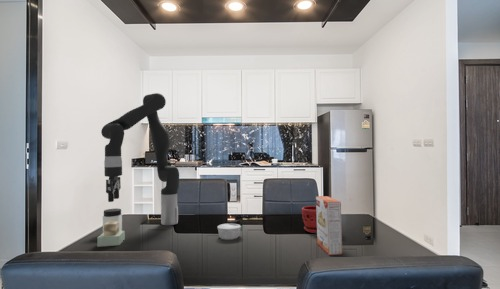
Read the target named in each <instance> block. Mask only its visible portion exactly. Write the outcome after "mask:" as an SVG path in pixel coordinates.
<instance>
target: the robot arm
mask: <svg viewBox="0 0 500 289" xmlns="http://www.w3.org/2000/svg"><path fill="white" fill-rule="evenodd" d="M166 100H167V99H166V98H165V96H164V95H163V94H162V93H160V92H159V93H157V92H156V93H151V94H146V95H144V96H143V99H142V103H143V104H142V105H140V106H138V107H135V108H133V109H131V110H129V111H128V112H125V113H124V114H123V115H121V116H120V117H118V118H117V119H115V120H113V121H110V122H108V123H106V124H105V125H104V126H102V128H101V135H102V137H103V138H104V139H107V140H109V142H108V143H107V144H106V145H105V146H104V162H103V164H104V177H108V179H105V193H106V194H107V198H108V200H107V201H108V202H109V203H113V202H115V201H114V200H118V199H120V190H121V188H122V187H121V177H122V175H123V160H122V146H123V143H124V136H125V131H126V130H130V129H131V128H132V127H134V126H136V125H137V124H138V123H140V122H141V121H142V120H143V119H145V118H147V122H148V125H149V130H150V136H151V142H152V145H153V148H154V154H155V161H156V169H157V176H158V179H159V180H160V181H161V182H163V183H164V182H165V187H163V188H161V190H160V224H161V225H162V226H174V225H177V224H178V222H179V206H178V191H179V187H180V172H179V168H178V167H176V166H172V165H171V166H169V162H168V153H169V149H170V145H171V142H170V137H169V133H168V130H167V129H166V127H165V126H164V124H163V123H162V121H161V120H160V117H159V114H158V111H160V110H162V109H164V107H165V106H166V104H167V102H166Z"/></svg>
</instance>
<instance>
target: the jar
mask: <svg viewBox="0 0 500 289" xmlns="http://www.w3.org/2000/svg"><path fill="white" fill-rule="evenodd" d="M118 221H119V231H123V214H122V209H121V208H109V209H108V208H107V209H104V210H103V216H102V234H103V233H104V224H106V223H107V222H118Z"/></svg>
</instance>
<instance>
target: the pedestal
mask: <svg viewBox="0 0 500 289" xmlns="http://www.w3.org/2000/svg"><path fill="white" fill-rule="evenodd" d="M125 232H126V231H125V230H122V231H119V233H118V234H116V235H110V236H104V233H103V232H102V233H101V234H100V235H99V236H97V239H96V240H97V241H96V242H97V245H96V246H97V247H98V248H99V247H111V246H113V247H114V246H120V245H121V244H122V243H123V242H124V241H125V239H126V237H125V236H126V234H125ZM123 240H124V241H123Z"/></svg>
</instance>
